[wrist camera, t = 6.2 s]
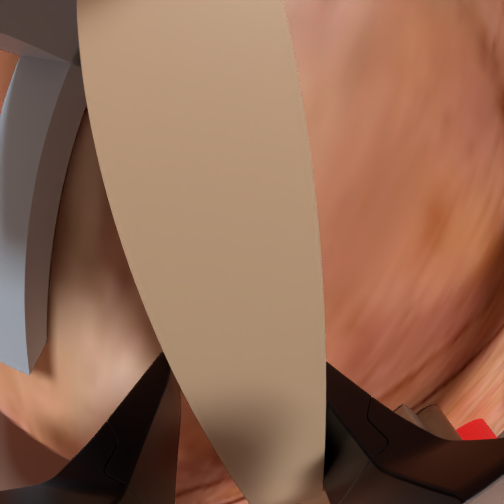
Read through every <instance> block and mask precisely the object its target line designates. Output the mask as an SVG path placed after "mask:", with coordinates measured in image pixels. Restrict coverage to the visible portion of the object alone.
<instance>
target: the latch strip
mask: <svg viewBox="0 0 504 504" xmlns="http://www.w3.org/2000/svg"><path fill="white" fill-rule="evenodd" d="M0 50H3V51H6V52H10V53H13V54H16V55H19V56H20V58H19V60H18V63H17V65H16V68H15V71H14V73H13V76H12V79H11V82H10V85H9V88H8V91H7V94H6V97H5V100H4V104H3V107H2V111H1V114H0V362H1V363H3V364H6V365H8V366H10V367H12V368H14V369H16V370H18V371H20V372H23V373H25V374H27V375H29V376H30V374H31V372H32V370H33V368H34V366H35V364H36V362H37V360H38V358H39V356H40V354H41V352H42V350H43V348H44V346H45V344H46V343H47V305H48V286H49V273H50V263H51V254H52V246H53V238H54V231H55V225H56V219H57V213H58V208H59V202H60V197H61V192H62V188H63V183H64V179H65V175H66V171H67V167H68V163H69V159H70V155H71V151H72V148H73V144H74V141H75V138H76V134H77V131H78V128H79V125H80V122H81V119H82V116H83V113H84V110H85V107H86V104H87V102H86V96H85V89H84V82H83V75H82V67H81V58H80V49H79V37H78V23H77V0H0Z"/></svg>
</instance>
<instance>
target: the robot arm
mask: <svg viewBox="0 0 504 504" xmlns="http://www.w3.org/2000/svg"><path fill="white" fill-rule="evenodd" d="M107 421H108V422H105V424H104V425H103V426H102V427H101V429H100V430H99V431H98V432H97V433H96V435H95V436H94V437H93V438H92V439H91V440H90V441H89V443H88V444H87V445H86V446H85V447H84V448H83V449H82V450H81V451H80V452H79V453H78V454H77V455H76V456H75V457H74V458H73V459H72V460H71V461H70V462H69V463H68V464H67V465H65V467H63V469H61V470H60V471H59V472H58V473H57V474H56V475H55V476H54V477H52V478H51V479H49V480H47V481H45V482H43V483H40V484H36V485H31V486H26V487H21V488H16V489H10V490H4V491H0V504H175V486H176V471H177V457H178V445H179V433H180V423H181V397H180V386H179V384H178V382H177V380H176V377H175V375H174V373H173V371H172V369H171V367H170V365H169V363H168V361H167V358H166V356H165V354H164V352H162V353H161V354H160V355H159V356H158V357H157V359H156V360H155V361H154V362H153V364H152V365H151V366H150V367H149V369H148V370H147V371H146V372H145V374H144V375H143V376H142V377H141V379H140V380H139V381H138V382H137V384H136V385H135V386H134V387H133V389H132V390H131V391H130V392H129V394H128V395H127V396H126V397H125V399H124V400H123V401H122V402H121V404H120V405H119V406H118V407H117V409H116V410H115V411H114V412H113V414H112V415H111V416H110V417H109V419H108V420H107ZM322 483H323V486H324V489H325V491H326V494H327V497H328V500H329V502H330V504H504V438H496V439H481V440H447V439H443V438H441V437H438V436H436V435H434V434H432V433H430V432H428V431H426V430H424V429H423V428H421V427H419V426H417V425H415V424H414V423H412V422H410V421H408V420H406V419H405V418H403V417H401V416H400V415H398V414H396V413H395V412H393V411H392V410H390V409H389V408H387V407H386V406H384V405H383V404H382V403H380V402H379V401H377V400H376V399H375V398H373V397H371V395H369V394H368V393H367V392H365V391H364V390H363V389H361V388H360V387H359V386H357V385H356V384H355V383H354V382H352V381H351V380H350V379H348V378H347V377H346V376H344V375H343V374H342V373H341V372H339V371H338V370H337V369H335V368H334V367H333V366H332V365H330V364H329V363H328V362H326V426H325V454H324V473H323V481H322Z"/></svg>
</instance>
